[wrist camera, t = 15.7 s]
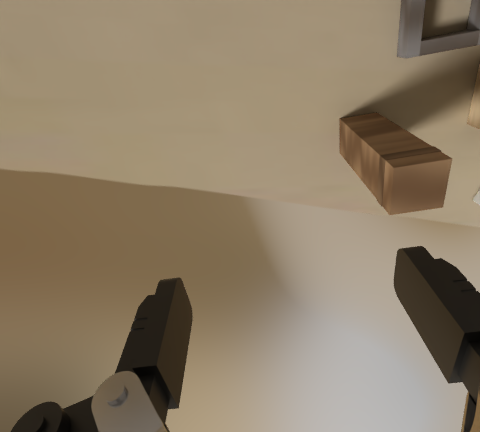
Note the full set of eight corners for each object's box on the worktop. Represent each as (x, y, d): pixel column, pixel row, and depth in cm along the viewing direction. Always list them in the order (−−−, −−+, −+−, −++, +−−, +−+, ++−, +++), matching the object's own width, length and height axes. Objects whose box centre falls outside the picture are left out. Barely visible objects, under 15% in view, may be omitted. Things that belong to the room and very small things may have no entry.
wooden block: (339, 118, 34) (393, 167, 22) (377, 111, 34) (453, 157, 22) (339, 153, 36) (388, 215, 24) (375, 147, 36) (443, 207, 24)
